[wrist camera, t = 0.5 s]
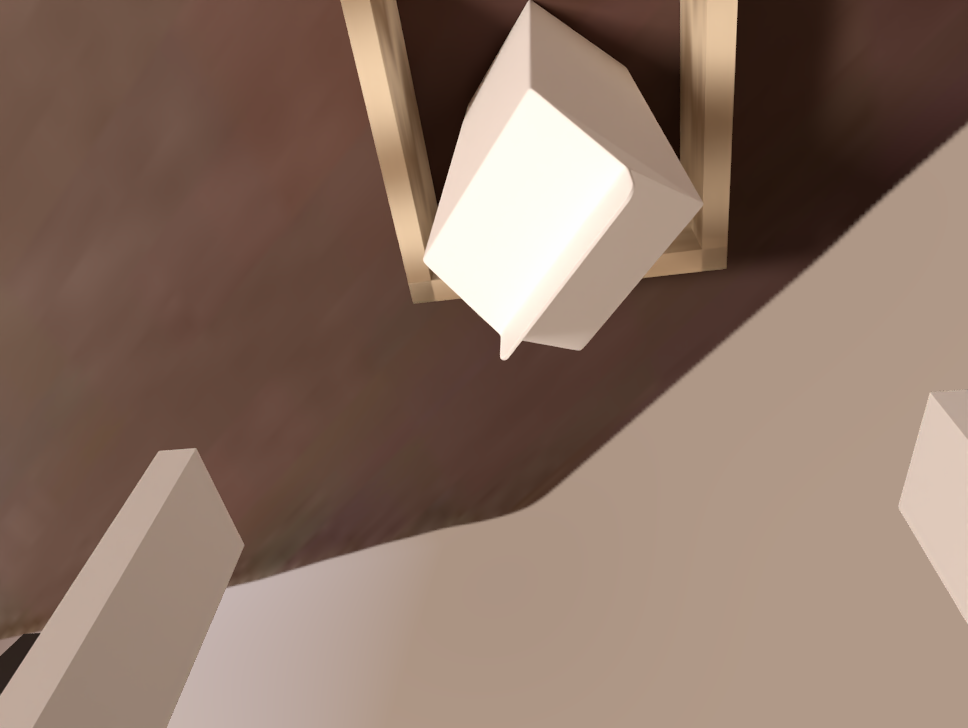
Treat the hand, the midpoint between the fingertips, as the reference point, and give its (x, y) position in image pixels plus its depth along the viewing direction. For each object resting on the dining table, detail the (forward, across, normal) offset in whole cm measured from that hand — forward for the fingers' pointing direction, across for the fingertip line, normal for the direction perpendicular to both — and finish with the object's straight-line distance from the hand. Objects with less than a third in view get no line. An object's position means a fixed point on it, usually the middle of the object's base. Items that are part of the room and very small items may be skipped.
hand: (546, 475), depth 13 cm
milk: (+28, +1, 0) cm, 28 cm away
